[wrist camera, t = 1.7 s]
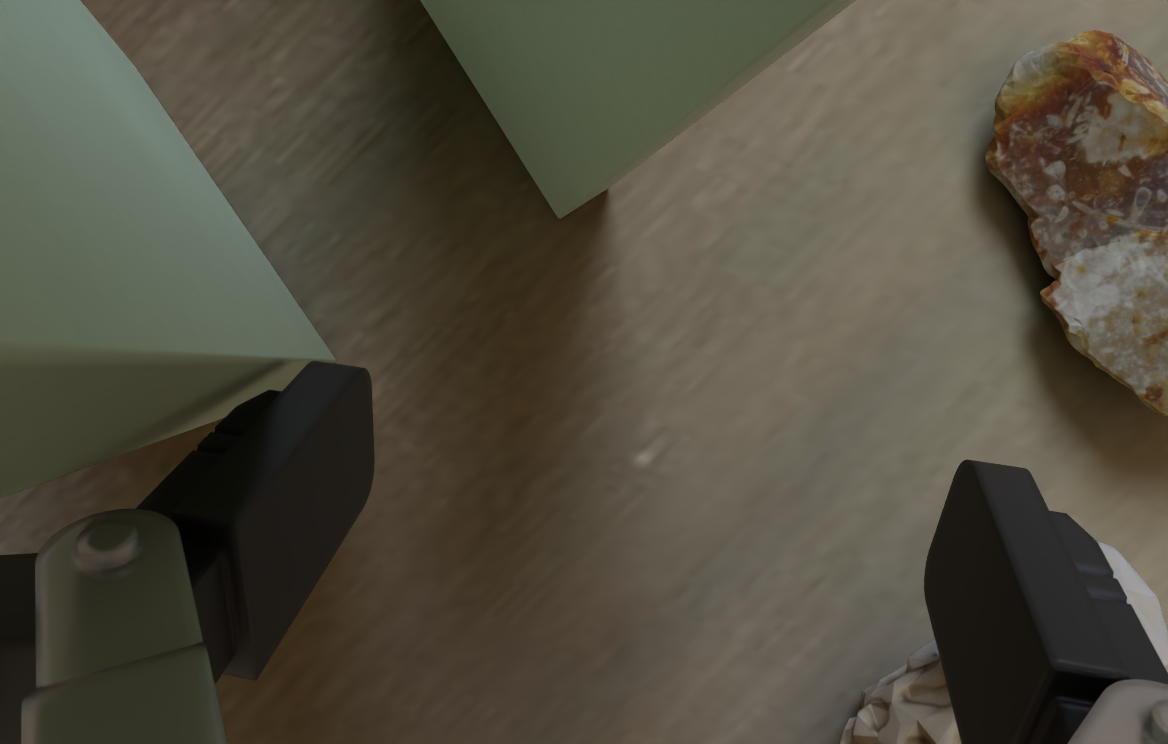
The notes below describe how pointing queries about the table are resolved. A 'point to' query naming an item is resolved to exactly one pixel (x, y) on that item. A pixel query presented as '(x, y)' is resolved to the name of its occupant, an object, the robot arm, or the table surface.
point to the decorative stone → (1095, 197)
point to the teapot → (919, 691)
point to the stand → (218, 237)
